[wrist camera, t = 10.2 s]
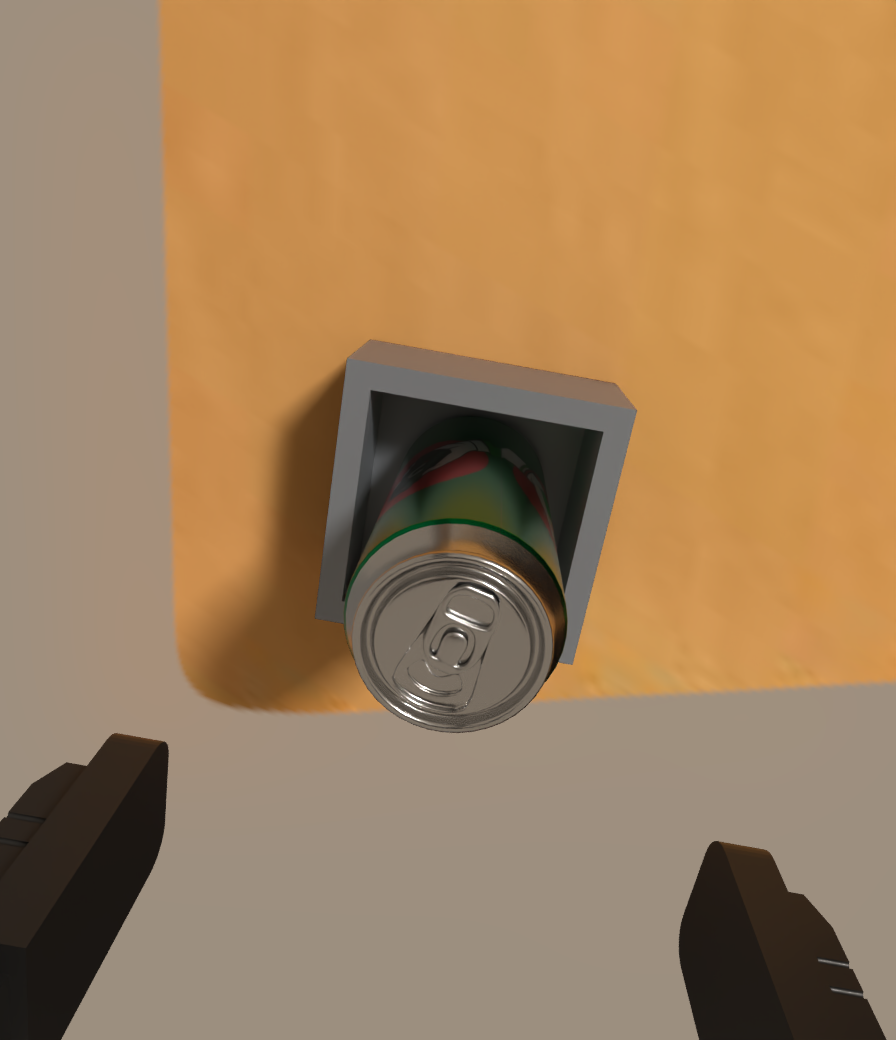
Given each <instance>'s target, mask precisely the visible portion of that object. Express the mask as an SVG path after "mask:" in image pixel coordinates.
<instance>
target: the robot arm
mask: <svg viewBox="0 0 896 1040" xmlns="http://www.w3.org/2000/svg"><path fill="white" fill-rule="evenodd" d="M168 752H169V750H168V745H167V743H166V742H163V741H158V740H152V739H146V738H141V737H135V736H130V735H123V734H118V733H114V734H112V735H111V736H110V737H109V738H108V739H107V740H106V742H105V743H104V744H103V746H102V747H101V749H100V750H99V751H98V752H97V754H96V755H95V756H94V758H93V759H92V760H91V761H90V763H89V764H88V765H87V766H83V765H78V764H72V763H65V764H64V765H62V766H60V767H58V768H57V769H55V770H54V771H52V772H50V773H49V774H47V775H46V776H44V777H43V778H41V779H39V780H37V781H36V782H34V783H33V784H31V786H30V787H29V788H28V789H27V791H26V792H25V793H24V794H23V795H22V797H21V798H20V799H19V800H18V801H17V802H16V804H15V805H14V806H13V807H12V808H11V810H10V811H9V813H8V816H7V818H5V817H4V818H3V819H2V820H1V822H0V1040H61V1039H62V1037H63V1035H64V1033H65V1031H66V1029H67V1027H68V1026H69V1024H70V1022H71V1020H72V1018H73V1016H74V1014H75V1012H76V1011H77V1009H78V1007H79V1005H80V1003H81V1001H82V999H83V998H84V996H85V994H86V992H87V990H88V988H89V986H90V985H91V983H92V981H93V979H94V977H95V975H96V973H97V971H98V969H99V968H100V966H101V964H102V962H103V960H104V958H105V956H106V955H107V953H108V951H109V949H110V947H111V945H112V943H113V942H114V940H115V938H116V936H117V934H118V932H119V930H120V929H121V927H122V925H123V923H124V921H125V919H126V917H127V916H128V914H129V912H130V910H131V908H132V906H133V904H134V902H135V900H136V899H137V897H138V895H139V893H140V891H141V889H142V888H143V886H144V884H145V882H146V880H147V878H148V876H149V875H150V873H151V870H152V869H153V866H154V864H155V861H156V859H157V856H158V853H159V849H160V846H161V842H162V838H163V833H164V826H165V811H166V793H167V774H168V757H169V755H168V754H169V753H168ZM679 957H680V964H681V969H682V973H683V977H684V981H685V985H686V989H687V993H688V997H689V1001H690V1005H691V1009H692V1013H693V1017H694V1021H695V1025H696V1029H697V1033H698V1037H699V1040H886V1038H885V1036H884V1034H883V1032H882V1029H881V1027H880V1025H879V1023H878V1021H877V1019H876V1017H875V1015H874V1013H873V1011H872V1009H871V1007H870V1004H869V1002H868V1000H867V999H864V998H863V990H862V988H861V986H860V984H859V982H858V980H857V978H856V975H855V973H854V971H853V969H849V961H848V959H847V957H846V955H845V952H844V950H843V948H842V946H841V944H840V942H839V940H838V938H837V936H836V934H835V932H834V930H833V928H832V926H831V925H830V924H829V923H828V922H827V921H826V920H825V918H824V917H823V916H822V915H821V914H820V913H819V912H818V911H817V909H816V908H815V907H814V906H813V905H812V904H811V903H810V902H809V900H808V899H807V898H806V897H805V896H804V895H802V894H797V893H791V892H788V891H787V888H786V886H785V884H784V882H783V879H782V877H781V875H780V872H779V870H778V868H777V865H776V863H775V861H774V859H773V857H772V855H771V854H770V853H769V852H768V851H767V850H764V849H758V848H752V847H747V846H741V845H735V844H730V843H724V842H719V841H714V842H712V843H711V844H710V845H709V847H708V849H707V852H706V853H705V856H704V860H703V862H702V865H701V867H700V870H699V873H698V876H697V879H696V882H695V884H694V887H693V890H692V893H691V895H690V898H689V901H688V904H687V907H686V909H685V912H684V915H683V918H682V922H681V927H680V934H679Z"/></svg>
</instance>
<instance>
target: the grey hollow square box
mask: <svg viewBox="0 0 896 1040" xmlns="http://www.w3.org/2000/svg"><path fill="white" fill-rule="evenodd" d="M636 412H637V410H636V408H635V407H634V406H633V405H632V403H631V402H630V401H629V400H628V398H627V397H626V396H625V395H624V393H623V392H622V391H621V390H620V388H619V387H618V386H617V385H616V384H615V383H610V382H604V381H598V380H593V379H587V378H582V377H576V376H571V375H565V374H560V373H554V372H548V371H543V370H537V369H532V368H526V367H521V366H515V365H509V364H504V363H498V362H493V361H487V360H482V359H476V358H470V357H465V356H459V355H454V354H448V353H443V352H437V351H432V350H426V349H420V348H415V347H409V346H404V345H398V344H393V343H387V342H381V341H376V340H369V341H368V342H367V343H365V344H364V345H363V346H362V347H360V348H359V349H358V350H357V351H356V352H354V353H353V354H352V355H351V356H349V357H348V358H347V364H346V372H345V380H344V388H343V396H342V404H341V412H340V420H339V428H338V436H337V444H336V452H335V460H334V468H333V476H332V484H331V493H330V501H329V509H328V517H327V525H326V533H325V541H324V549H323V557H322V565H321V573H320V581H319V589H318V597H317V605H316V613H315V619H320V620H326V621H331V622H337V623H342V624H344V614H343V611H344V604H345V597H346V593H347V590H348V587H349V584H350V581H351V578H352V576H353V574H354V571H355V569H356V567H357V565H358V562H359V560H360V558H361V556H362V553H363V551H364V549H365V546H366V544H367V542H368V540H369V537H370V535H371V533H372V530H373V528H374V526H375V524H376V521H377V519H378V517H379V515H380V512H381V510H382V508H383V505H384V503H385V501H386V499H387V496H388V494H389V492H390V489H391V487H392V485H393V483H394V480H395V478H396V476H397V473H398V471H399V469H400V467H401V464H402V462H403V460H404V458H405V456H406V454H407V452H408V450H409V449H410V447H411V446H412V445H413V443H414V442H415V441H416V440H417V439H418V438H419V437H420V436H421V435H422V434H423V433H424V432H425V431H427V430H428V429H430V428H431V427H433V426H434V425H436V424H438V423H441V422H443V421H445V420H449V419H452V418H456V417H463V416H480V417H485V418H491V419H493V420H496V421H499V422H502V423H504V424H506V425H508V426H509V427H511V428H513V429H514V430H515V431H517V432H518V433H519V434H521V435H522V436H523V437H524V438H525V439H526V440H527V441H528V443H529V444H530V445H531V447H532V448H533V449H534V451H535V452H536V454H537V456H538V459H539V461H540V463H541V466H542V470H543V473H544V479H545V485H546V491H547V496H548V502H549V508H550V514H551V520H552V525H553V531H554V537H555V543H556V548H557V554H558V560H559V566H560V572H561V577H562V583H563V589H564V595H565V601H566V608H567V617H568V625H567V637H566V641H565V645H564V649H563V653H562V655H561V657H560V659H559V662H560V663H565V664H571V665H573V661H574V657H575V653H576V649H577V645H578V641H579V637H580V633H581V629H582V625H583V621H584V617H585V613H586V609H587V605H588V602H589V598H590V594H591V590H592V586H593V582H594V578H595V574H596V570H597V566H598V562H599V558H600V554H601V550H602V546H603V542H604V538H605V535H606V531H607V527H608V523H609V519H610V515H611V511H612V507H613V503H614V499H615V495H616V491H617V487H618V483H619V479H620V475H621V471H622V468H623V464H624V460H625V456H626V452H627V448H628V444H629V440H630V436H631V432H632V428H633V424H634V420H635V416H636Z"/></svg>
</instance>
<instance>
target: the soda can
mask: <svg viewBox="0 0 896 1040" xmlns="http://www.w3.org/2000/svg"><path fill="white" fill-rule="evenodd" d="M343 614H344V630H345V635H346V639H347V644H348V646H349V649H350V651H351V654H352V656H353V658H354V660H355V664H356V666H357V669H358V672H359V674H360V677H361V678H362V680H363V682H364V683H365V685H366V687H367V689H368V690H369V691H370V692H371V694H372V695H373V696H374V697H375V698H376V700H377V701H378V702H380V703H381V704H382V705H383V706H384V707H385V708H386V709H387V710H389V711H390V712H392V713H393V714H395V715H396V716H398V717H399V718H401V719H403V720H405V721H407V722H409V723H411V724H413V725H416V726H419V727H422V728H426V729H428V730H434V731H439V732H450V733H461V732H462V733H463V732H473V731H478V730H482V729H486V728H489V727H492V726H495V725H498V724H500V723H502V722H504V721H506V720H508V719H509V718H511V717H513V716H515V715H516V714H517V713H519V712H520V711H521V710H522V709H523V708H525V707H526V706H527V705H528V704H529V703H530V702H531V701H532V700H533V699H534V697H535V696H536V695H537V693H538V692H539V690H540V689H541V687H542V686H543V684H544V683H545V682H546V681H547V680H548V678H549V677H550V675H551V674H552V672H553V671H554V669H555V668H556V666H557V664H558V662H559V659H560V657H561V655H562V653H563V649H564V645H565V641H566V637H567V625H568V617H567V608H566V601H565V595H564V589H563V583H562V577H561V572H560V566H559V560H558V554H557V548H556V543H555V537H554V531H553V525H552V520H551V514H550V508H549V502H548V496H547V491H546V485H545V479H544V473H543V470H542V466H541V463H540V461H539V459H538V456H537V454H536V452H535V451H534V449H533V448H532V447H531V445H530V444H529V443H528V441H527V440H526V439H525V438H524V437H523V436H522V435H521V434H519V433H518V432H517V431H515V430H514V429H513V428H511V427H509V426H508V425H506V424H504V423H502V422H499V421H496V420H493V419H491V418H485V417H480V416H463V417H456V418H452V419H449V420H445V421H443V422H441V423H438V424H436V425H434V426H433V427H431V428H430V429H428V430H427V431H425V432H424V433H423V434H422V435H421V436H420V437H419V438H418V439H417V440H416V441H415V442H414V443H413V445H412V446H411V447H410V449H409V450H408V452H407V454H406V456H405V458H404V460H403V462H402V464H401V467H400V469H399V471H398V473H397V476H396V478H395V480H394V483H393V485H392V487H391V489H390V492H389V494H388V496H387V499H386V501H385V503H384V505H383V508H382V510H381V512H380V515H379V517H378V519H377V521H376V524H375V526H374V528H373V530H372V533H371V535H370V537H369V540H368V542H367V544H366V546H365V549H364V551H363V553H362V556H361V558H360V560H359V562H358V565H357V567H356V569H355V571H354V574H353V576H352V578H351V581H350V584H349V587H348V590H347V593H346V597H345V604H344V611H343Z"/></svg>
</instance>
